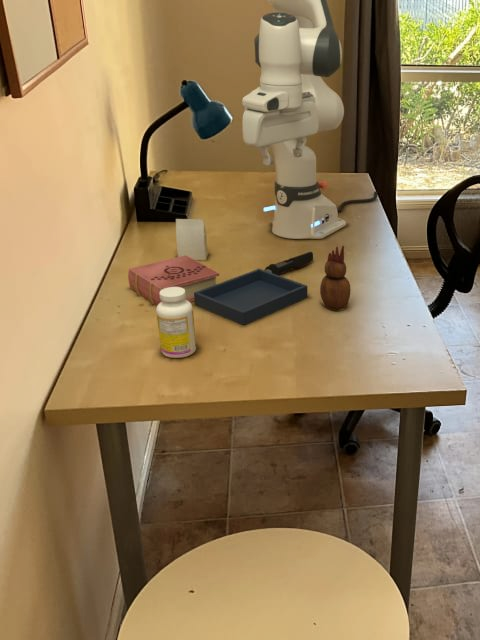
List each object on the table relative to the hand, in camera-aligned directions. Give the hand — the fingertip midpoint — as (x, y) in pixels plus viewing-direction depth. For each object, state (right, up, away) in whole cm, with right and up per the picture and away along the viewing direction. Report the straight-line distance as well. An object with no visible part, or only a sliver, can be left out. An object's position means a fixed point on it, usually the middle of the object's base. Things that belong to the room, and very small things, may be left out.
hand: (283, 160), depth 167 cm
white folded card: (-27, -19, +25) cm, 41 cm away
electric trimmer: (-2, -23, +20) cm, 30 cm away
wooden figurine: (+11, -33, +2) cm, 35 cm away
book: (-26, -29, +5) cm, 39 cm away
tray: (-7, -31, +2) cm, 32 cm away
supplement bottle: (-17, -43, -20) cm, 50 cm away
